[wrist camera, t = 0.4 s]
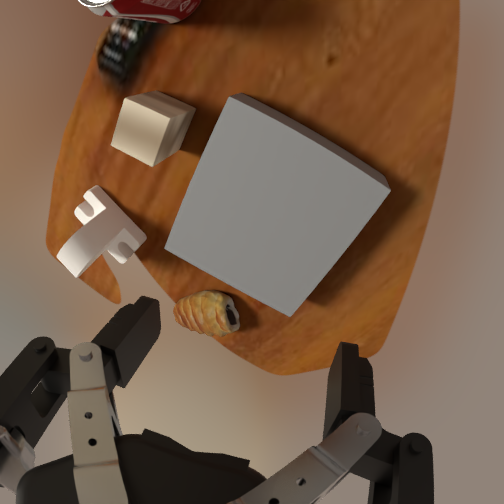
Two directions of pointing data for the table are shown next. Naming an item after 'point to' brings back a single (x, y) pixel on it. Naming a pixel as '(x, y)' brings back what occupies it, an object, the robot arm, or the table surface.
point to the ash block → (152, 126)
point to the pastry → (207, 313)
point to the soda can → (144, 9)
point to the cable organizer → (100, 233)
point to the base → (272, 205)
